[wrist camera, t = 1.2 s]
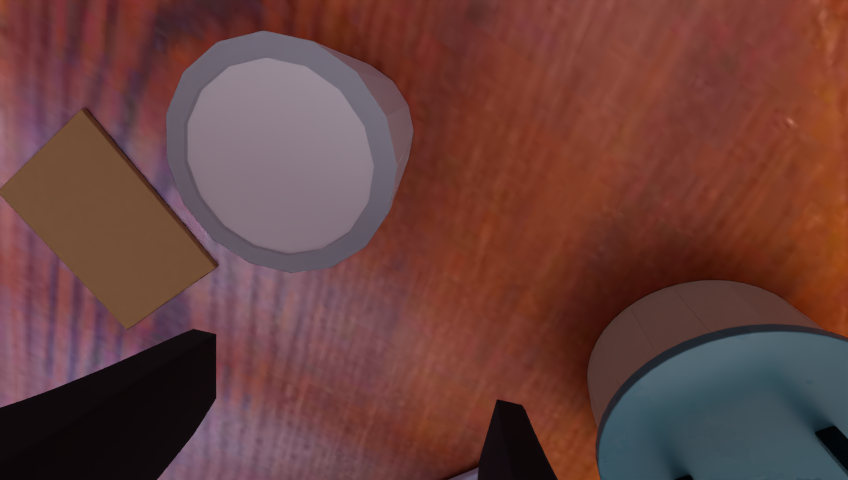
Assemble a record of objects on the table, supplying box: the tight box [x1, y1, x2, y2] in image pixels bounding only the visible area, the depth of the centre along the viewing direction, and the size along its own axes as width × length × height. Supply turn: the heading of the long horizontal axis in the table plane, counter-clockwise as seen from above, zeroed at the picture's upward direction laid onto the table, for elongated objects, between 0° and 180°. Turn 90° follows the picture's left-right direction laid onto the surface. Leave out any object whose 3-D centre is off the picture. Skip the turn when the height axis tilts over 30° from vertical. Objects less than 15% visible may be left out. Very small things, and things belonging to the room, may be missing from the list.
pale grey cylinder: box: [166, 31, 414, 273], centre depth 16 cm, size 7×7×7 cm
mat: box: [0, 109, 218, 329], centre depth 23 cm, size 9×7×1 cm
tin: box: [587, 280, 824, 429], centre depth 19 cm, size 10×10×4 cm
